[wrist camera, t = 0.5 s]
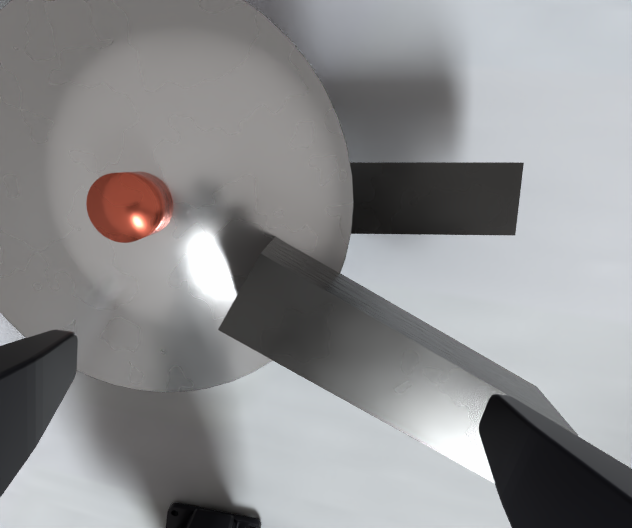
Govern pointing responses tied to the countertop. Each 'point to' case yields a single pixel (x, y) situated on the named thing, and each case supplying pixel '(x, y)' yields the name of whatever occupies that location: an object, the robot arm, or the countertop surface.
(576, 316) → the countertop surface
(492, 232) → the cooker pot
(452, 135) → the countertop surface
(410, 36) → the countertop surface
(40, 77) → the cooker lid
